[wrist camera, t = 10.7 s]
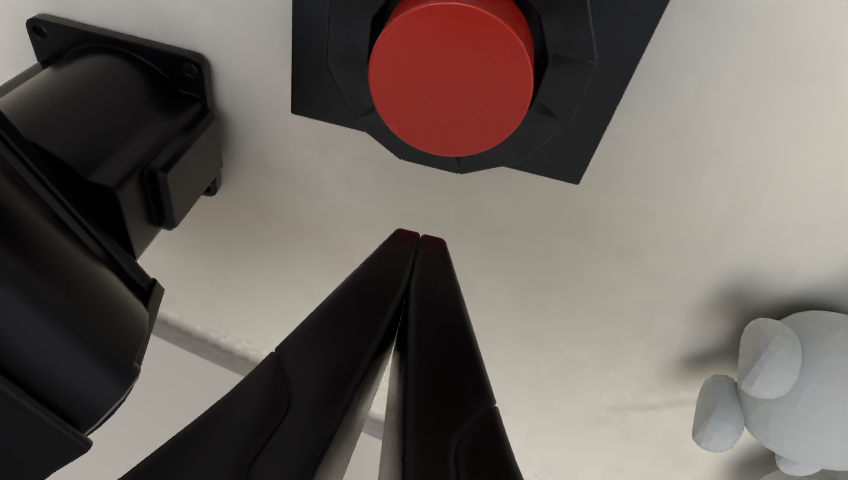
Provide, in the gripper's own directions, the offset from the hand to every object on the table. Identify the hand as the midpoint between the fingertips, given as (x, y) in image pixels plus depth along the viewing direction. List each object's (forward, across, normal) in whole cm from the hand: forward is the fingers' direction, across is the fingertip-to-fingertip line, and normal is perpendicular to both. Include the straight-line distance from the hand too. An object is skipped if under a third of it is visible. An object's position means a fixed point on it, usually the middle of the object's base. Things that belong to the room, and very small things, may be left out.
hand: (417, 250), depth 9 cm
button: (+7, 0, 0) cm, 7 cm away
